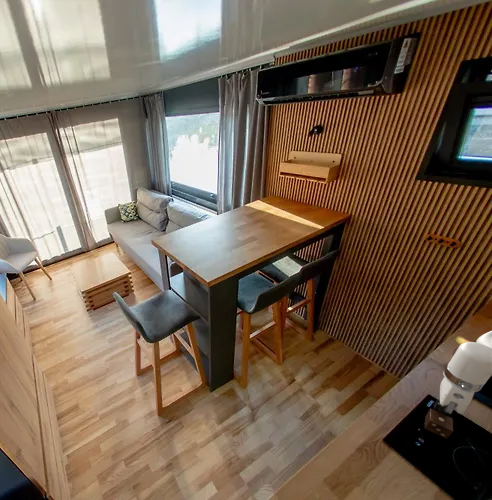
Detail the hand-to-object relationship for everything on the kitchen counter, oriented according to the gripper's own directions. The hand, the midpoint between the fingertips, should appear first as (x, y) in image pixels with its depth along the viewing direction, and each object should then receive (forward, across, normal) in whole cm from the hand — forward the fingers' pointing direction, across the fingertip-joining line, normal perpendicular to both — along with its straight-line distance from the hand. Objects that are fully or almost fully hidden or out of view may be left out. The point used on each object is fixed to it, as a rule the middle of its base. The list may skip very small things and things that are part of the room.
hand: (440, 411), depth 86 cm
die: (+4, -4, 0) cm, 6 cm away
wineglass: (+4, +27, -5) cm, 28 cm away
